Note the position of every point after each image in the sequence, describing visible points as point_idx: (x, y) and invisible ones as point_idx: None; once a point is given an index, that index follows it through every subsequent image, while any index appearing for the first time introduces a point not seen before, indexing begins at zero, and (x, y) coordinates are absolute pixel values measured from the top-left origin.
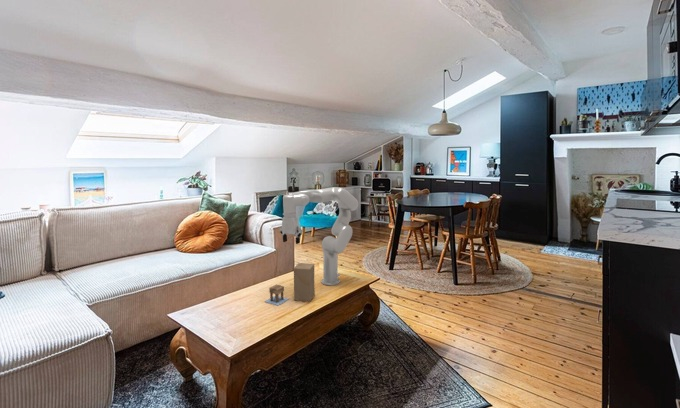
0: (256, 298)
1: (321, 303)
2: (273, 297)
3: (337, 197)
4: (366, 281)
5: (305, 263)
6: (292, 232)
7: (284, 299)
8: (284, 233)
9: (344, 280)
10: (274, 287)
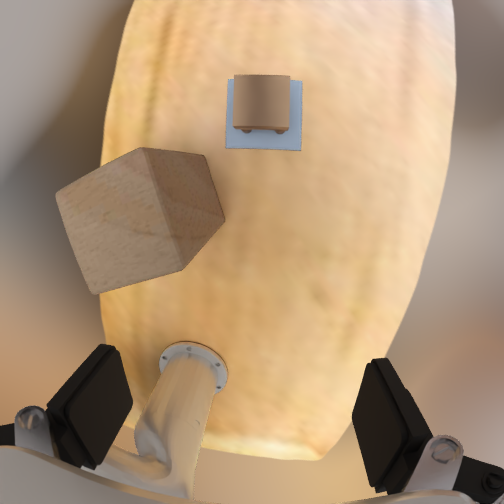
0: (357, 98)
1: None
2: (295, 126)
3: None
4: None
5: (134, 277)
6: (11, 488)
7: (238, 133)
8: (384, 497)
9: None
10: (267, 88)
